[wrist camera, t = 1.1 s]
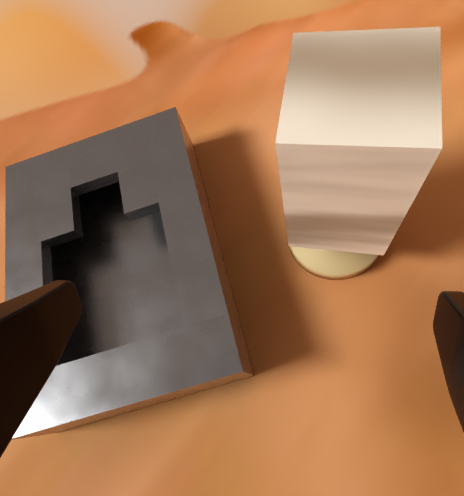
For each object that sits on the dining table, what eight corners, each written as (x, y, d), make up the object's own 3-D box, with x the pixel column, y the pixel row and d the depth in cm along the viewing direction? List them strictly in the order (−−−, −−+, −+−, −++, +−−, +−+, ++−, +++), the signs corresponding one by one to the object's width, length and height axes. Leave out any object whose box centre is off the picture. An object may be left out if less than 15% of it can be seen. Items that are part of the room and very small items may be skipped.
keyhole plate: (254, 375, 22) (242, 371, 18) (55, 432, 23) (4, 440, 19) (192, 144, 29) (175, 107, 25) (44, 195, 30) (5, 167, 26)
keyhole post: (380, 285, 22) (461, 163, 11) (282, 274, 24) (257, 155, 12) (384, 199, 24) (455, 15, 13) (293, 193, 26) (282, 23, 14)
